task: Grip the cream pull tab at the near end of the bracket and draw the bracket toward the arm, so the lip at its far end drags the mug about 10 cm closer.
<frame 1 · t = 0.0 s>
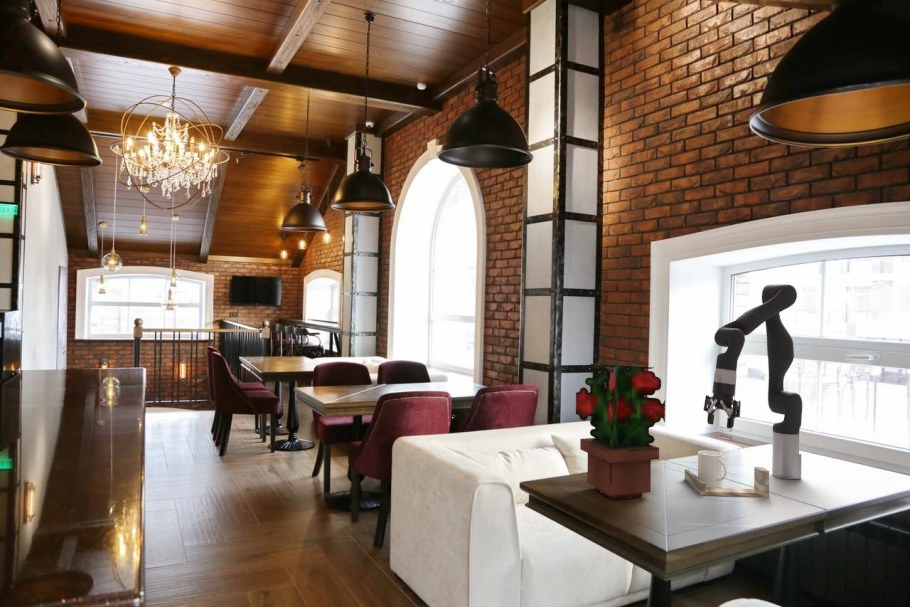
hand: (719, 426, 226), 22 cm above the table, tool pointing down, fingers open, 8 cm apart
potted plant: (618, 493, 218), on the table
bracket: (725, 475, 225), point 5 cm above the table, slide at 0.0 cm
mug: (712, 487, 227), on the table
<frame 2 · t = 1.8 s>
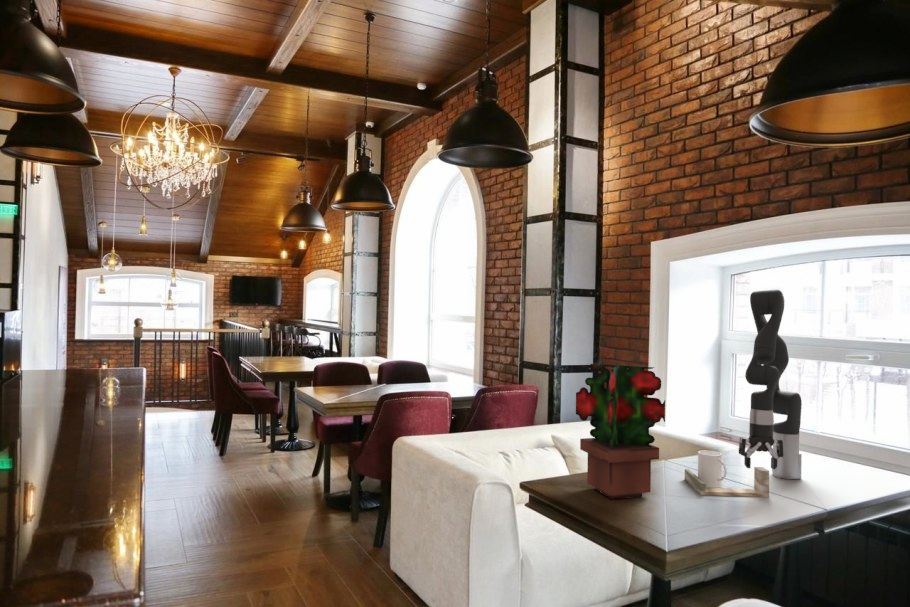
hand: (760, 468, 217), 10 cm above the table, tool pointing down, fingers open, 8 cm apart
nothing on the table moved.
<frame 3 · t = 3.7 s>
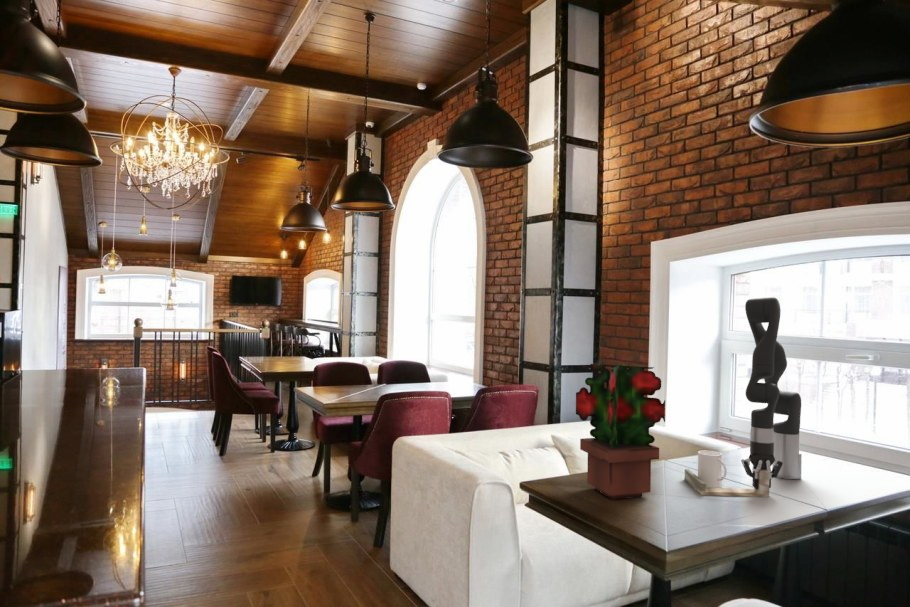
hand: (761, 488, 217), 2 cm above the table, tool pointing down, fingers closed on bracket, 3 cm apart
bracket: (725, 475, 225), point 5 cm above the table, slide at 0.0 cm, touching gripper
everything else where it was.
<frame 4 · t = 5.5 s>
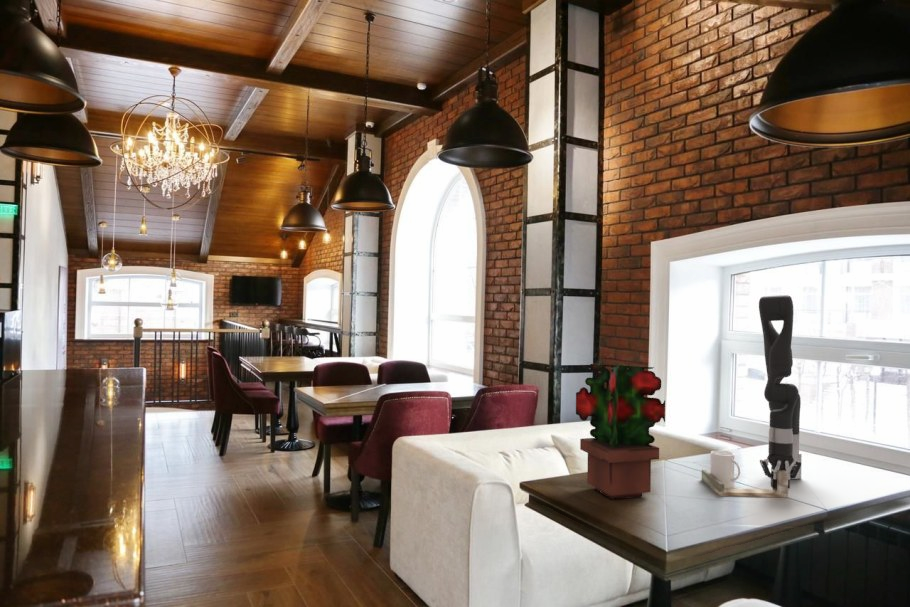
hand: (780, 489, 216), 2 cm above the table, tool pointing down, fingers closed on bracket, 3 cm apart
bracket: (742, 475, 224), point 5 cm above the table, slide at 6.3 cm, touching gripper
mug: (725, 487, 227), on the table
everything else where it was.
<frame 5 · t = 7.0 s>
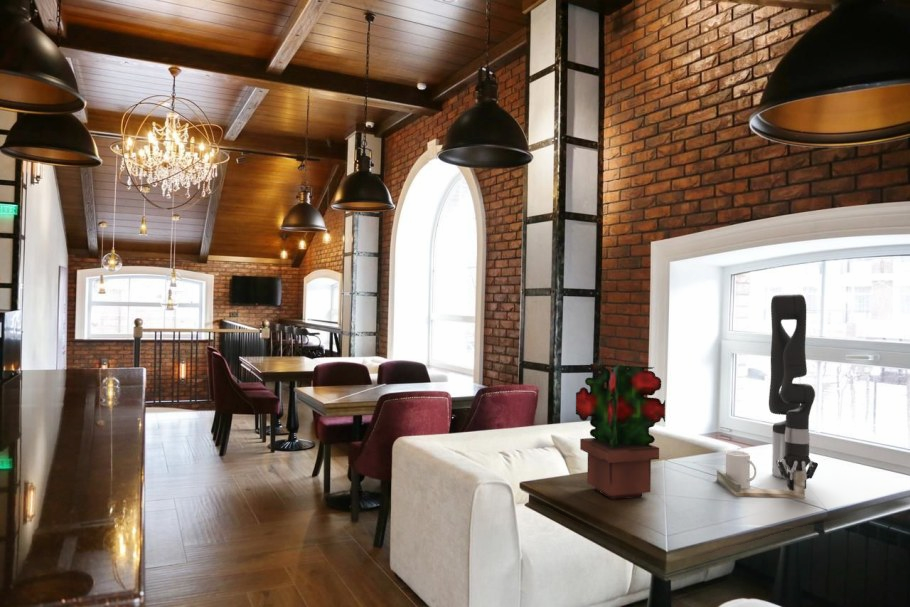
hand: (796, 489, 216), 2 cm above the table, tool pointing down, fingers closed on bracket, 3 cm apart
bracket: (758, 476, 224), point 5 cm above the table, slide at 11.9 cm, touching gripper, mug
mug: (741, 487, 227), on the table, touching bracket
everything else where it was.
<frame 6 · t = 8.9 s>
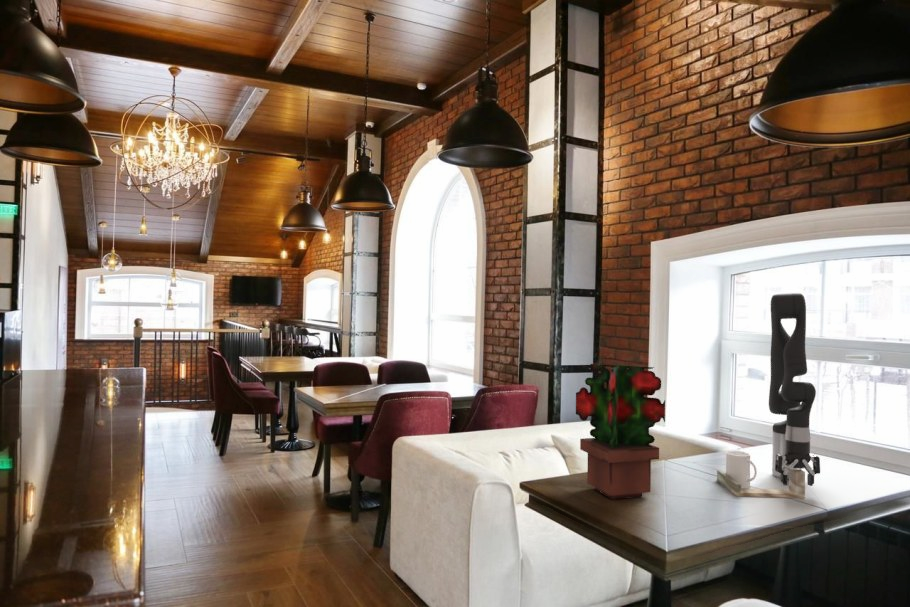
hand: (797, 485, 216), 4 cm above the table, tool pointing down, fingers open, 8 cm apart
bracket: (758, 476, 224), point 5 cm above the table, slide at 12.0 cm
mug: (741, 487, 227), on the table
everything else where it was.
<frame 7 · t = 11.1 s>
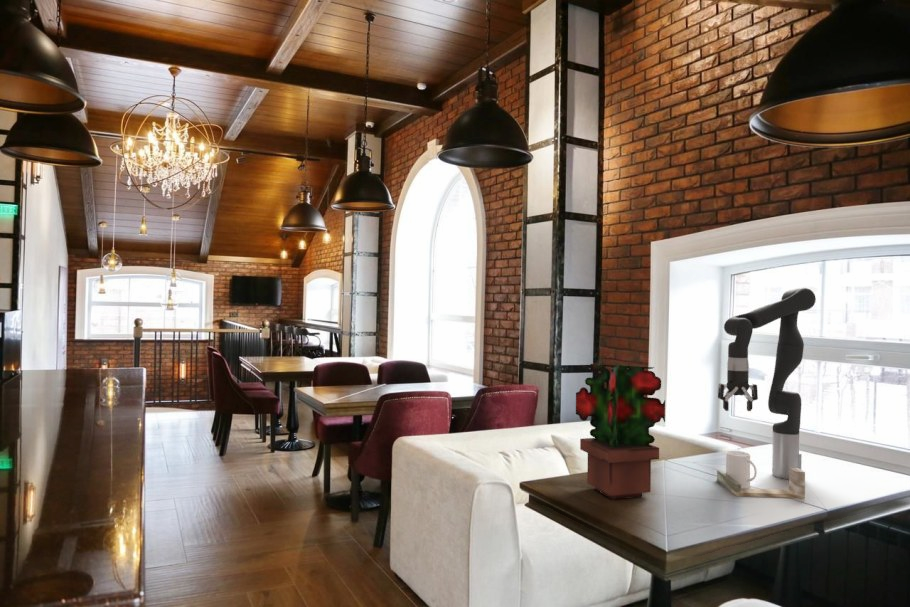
hand: (737, 410, 241), 26 cm above the table, tool pointing down, fingers open, 8 cm apart
nothing on the table moved.
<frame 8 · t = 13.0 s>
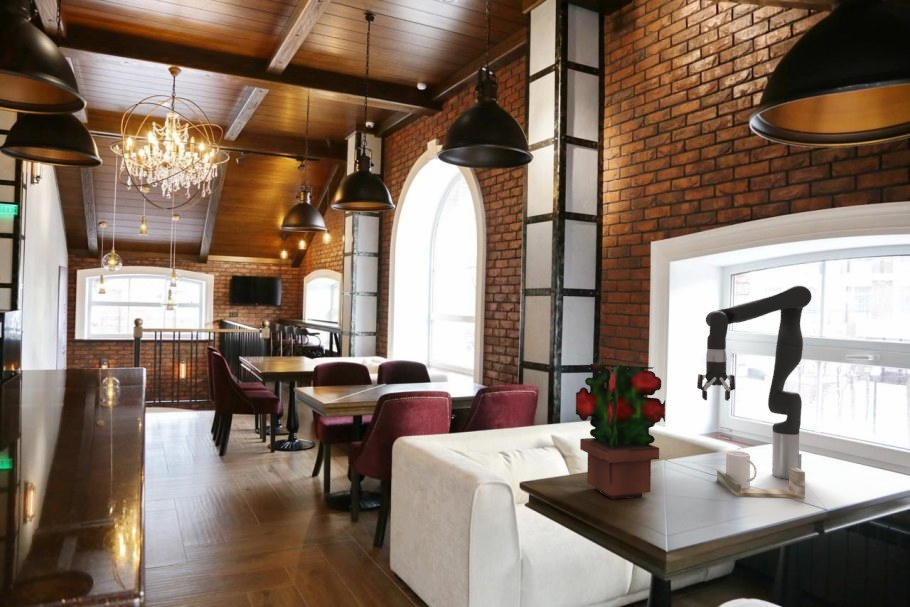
hand: (715, 400, 251), 28 cm above the table, tool pointing down, fingers open, 8 cm apart
nothing on the table moved.
at the end: bracket slide at 12.0 cm; mug inside the target area (1.9 cm from its centre), on the table; mug tilted 0° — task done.
